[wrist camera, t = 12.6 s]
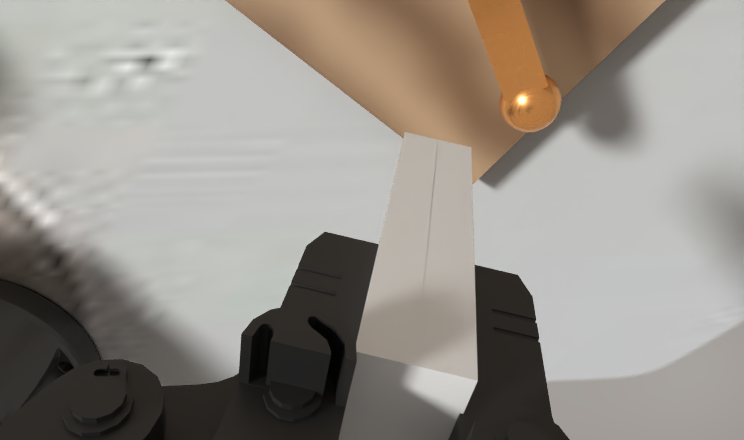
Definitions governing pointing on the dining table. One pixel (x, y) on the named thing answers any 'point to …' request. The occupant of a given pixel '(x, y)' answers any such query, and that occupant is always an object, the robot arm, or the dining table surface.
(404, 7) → the wooden cutting board
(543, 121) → the capstan
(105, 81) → the dining table surface
